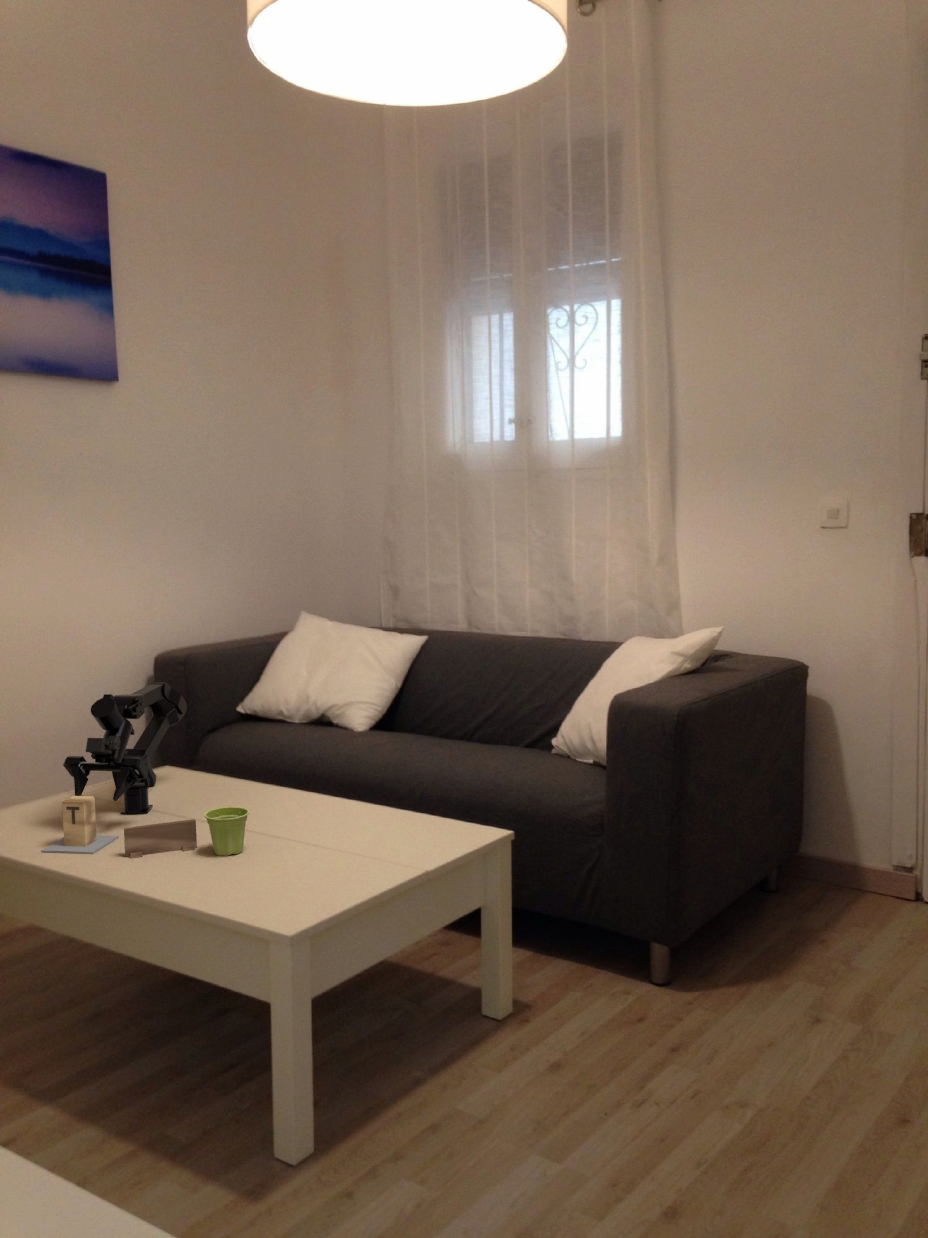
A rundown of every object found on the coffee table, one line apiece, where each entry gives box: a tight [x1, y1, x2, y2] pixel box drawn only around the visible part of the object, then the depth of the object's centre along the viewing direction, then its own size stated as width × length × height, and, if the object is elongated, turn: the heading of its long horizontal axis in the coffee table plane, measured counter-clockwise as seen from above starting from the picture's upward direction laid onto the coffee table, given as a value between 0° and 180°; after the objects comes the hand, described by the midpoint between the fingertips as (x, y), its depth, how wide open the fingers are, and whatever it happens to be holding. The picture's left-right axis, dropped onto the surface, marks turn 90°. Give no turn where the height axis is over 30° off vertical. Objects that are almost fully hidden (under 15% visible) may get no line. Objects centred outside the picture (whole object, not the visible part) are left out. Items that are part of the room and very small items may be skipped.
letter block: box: [61, 795, 97, 847], centre depth 247 cm, size 5×5×10 cm
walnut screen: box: [123, 818, 198, 859], centre depth 242 cm, size 4×15×6 cm, turn 114°
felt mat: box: [41, 834, 120, 855], centre depth 248 cm, size 12×12×1 cm
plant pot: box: [204, 806, 250, 857], centre depth 241 cm, size 9×9×9 cm
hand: (95, 799), depth 255 cm, fingers open, 9 cm apart
